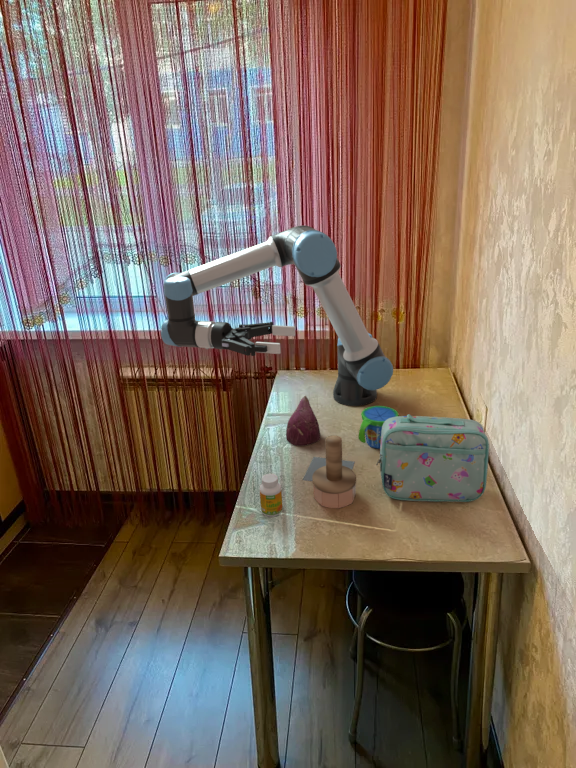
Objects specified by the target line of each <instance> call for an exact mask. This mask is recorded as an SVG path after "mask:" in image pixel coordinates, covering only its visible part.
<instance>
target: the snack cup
mask: <svg viewBox="0 0 576 768" xmlns="http://www.w3.org/2000/svg"><path fill="white" fill-rule="evenodd" d="M360 416H361V420H362V421H361V424H360V427H359V431H358V441H360V443H363V444H364V443H365V444H367V445H368V446H369V447H370V448H374V449H378V450H380V444H381V431H382V426H383V423H384V422H385V421H386V420H387V419H389V418H392V417H398V416H400V415H399V411H398V410H396V409H394V408H392V407H389V406H385V405H372V406H368V407H366V408H364V409H363V410H362V411H361V413H360Z"/></svg>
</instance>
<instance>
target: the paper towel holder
mask: <svg viewBox="0 0 576 768" xmlns="http://www.w3.org/2000/svg"><path fill="white" fill-rule="evenodd" d="M325 458H326V466H323V467H321V468H319V469H317V470H316V471H315V472H314V473H313V476H312V480H313V481H312V484H313V487H314V486H315V487H316V488H317V489H318V490H320V491H322V492H325V493H330V494H339V493H344V492H347V491H349V490H351V489H352V488H353V487H354V486H355V484H357V474H356V473H355V471H354V469H352V470H351V469H350V468H348V467H345V466H342V460H343V439H342V437H341V436H339V435H329V436H327V437H326V438H325Z"/></svg>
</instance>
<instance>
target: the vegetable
mask: <svg viewBox="0 0 576 768" xmlns="http://www.w3.org/2000/svg"><path fill="white" fill-rule="evenodd" d="M319 425H320V424H319V422H318V418H317V416H316V415H315V413H314V410H313V408H312V407H311V404H310V400H309V399H308V397H307V395H304V396H303V397H302V398H301V399H300V401H299V402H298V405H297V406H296V408H295V410H294V412H292V414H291V416H290V417H289V418H288V422H287V424H286V430H285V431H286V432H285V433H286V434H285V436H286V437H285V438H286V441H287V442H288V443H289V444H290V445H292V446H296V447H297V446H298V447H299V446H300V447H302V446H303V447H306V446H310V445H313V444H315V443H317V442H318V441H320V439H321V430H320V426H319Z"/></svg>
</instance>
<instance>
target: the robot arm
mask: <svg viewBox="0 0 576 768" xmlns="http://www.w3.org/2000/svg"><path fill="white" fill-rule="evenodd" d="M290 265H294V266H295V269H296V270H297V272H298V274H299V276H300V278H301V279H302V282H303V283H304V285H305V286H307V287H308V286H309V287H311V288H312V289H313V292H314V293H315V295H316V297H317V299H318V300H319V303H320V305H321V306H322V308H323V311H324V312H325V314H326V315H327V318H328V319H329V320H328V321H329V322H330V324H331V325H332V328H333V329H334V331H335V333H336V335H337V345H336V346H337V378H336V381H335V384H334V387H333V391H332V394H333V395H332V397H333V399H334V401H335V402H337V403H339V404H342V405H345V406H352V407H359V406H366V405H369V404H371V403H373V402H375V401H376V399H377V394H378V393H377V391H378V390H380V389H382V388H383V387H386V385H387V384H388V383H389V382H390V381H391V378H392V377H393V374H394V366H393V364H392V361H391V360H390V359H389V358H388V357H387V356H386V355H385V354H384V352H383V349H382V348H381V346H380V343H379V341H378V339H376V338H374V337H373V334H371V333H369V332H368V330H367V328H366V326H365V324H364V321H363V320H362V318H361V316H360V313H359V312H358V310H357V308H356V306H355V303H354V301H353V300H352V297H351V296H350V293H349V292H348V290H347V287H346V285H345V282H344V281H343V279H342V277H341V275H340V270H341V268H342V265H341V262H340V261H339V258H338V251H337V247H336V245H335V243H334V241H333V240H332V238H331V237H330V236H329V235H328V234H326V233H325V232H322V231H320V230H317V229H316V228H314V227H312V226H310V225H298V226H297V225H296V226H294V227H293V226H292V227H291V228H288V229H286V230H283V231H281V232H279V233H276V234H273V235H270V236H269V237H268V238H267V239H266V241H264V242H261V243H258V244H256V245H253V246H250V247H248V248H245V249H243V250H240V251H237V252H235V253H232V254H229V255H226V256H222V257H221V258H217V259H215V260H212V261H210V262H207V263H205V264H202V265H199V266H196V267H194V268H193V267H192V268H191V269H187V270H185V271H182V272H172V273H170V274H168V275H167V276H166V277H165V279H164V281H163V288H162V289H163V295H164V299H165V306H166V311H167V312H166V313H167V319H165V320H164V321H163V322H162V324H161V327H160V329H161V331H160V337H161V339H162V341H163V343H164V344H165V345H167V346H174V347H179V348H183V347H187V348H201V349H203V348H204V349H205V350H209V349H215V350H228V351H231V352H235V353H238V354H241V355H245V356H247V357H249V356H251V357H254V356H256V353H260V354H271V355H272V354H273V355H274V354H275V355H280V354H281V353H282V352H281V343H280V342H267V341H256V342H253V341H251V340H252V339H253V338H256V337H261V336H266V335H272V336H279V337H280V336H281V337H296V326H294V325H293V326H292V325H275V324H274V322H273V321H269V322H261V323H260V322H259V323H251V324H249V323H248V324H238V327H235V328H233V327H232V325H231V324H230V323H229V322H226V321H212V320H211V321H210V320H209V321H208V320H196V314H195V305H194V296H197V295H199V294H202V293H205V292H208V291H210V290H213V289H215V288H216V289H217V288H218V287H221V286H223V285H227V284H230V283H233V282H235V281H237V280H240V279H243V278H246V277H248V276H251V275H253V274H256V273H259V272H261V271H264V270H267V269H270V268H272V267H278V268H283V267H285V266H290Z"/></svg>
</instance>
